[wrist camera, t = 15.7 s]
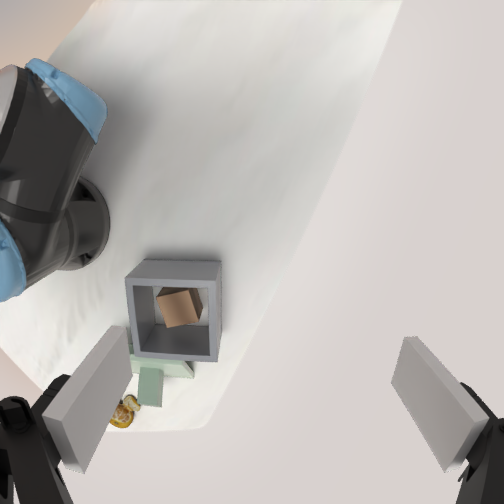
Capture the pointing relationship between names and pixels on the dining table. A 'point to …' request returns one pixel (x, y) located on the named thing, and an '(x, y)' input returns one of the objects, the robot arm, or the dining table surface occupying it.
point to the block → (179, 305)
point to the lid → (155, 376)
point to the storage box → (179, 337)
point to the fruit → (124, 412)
